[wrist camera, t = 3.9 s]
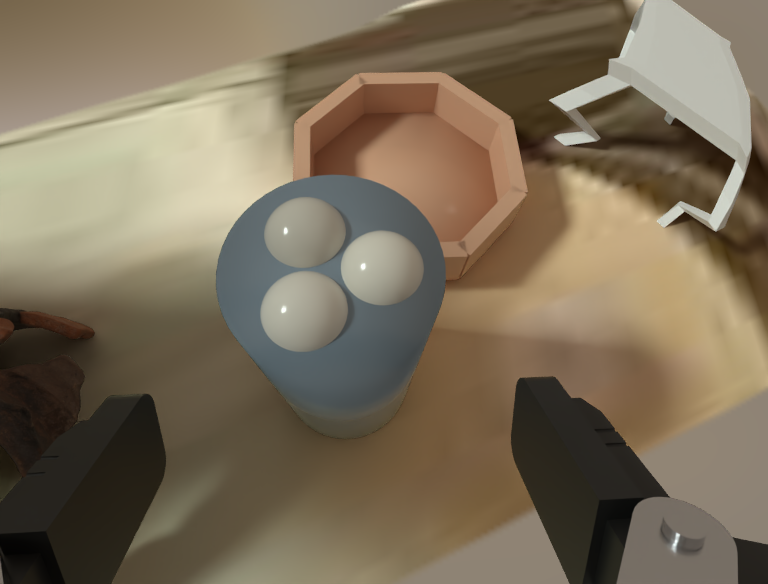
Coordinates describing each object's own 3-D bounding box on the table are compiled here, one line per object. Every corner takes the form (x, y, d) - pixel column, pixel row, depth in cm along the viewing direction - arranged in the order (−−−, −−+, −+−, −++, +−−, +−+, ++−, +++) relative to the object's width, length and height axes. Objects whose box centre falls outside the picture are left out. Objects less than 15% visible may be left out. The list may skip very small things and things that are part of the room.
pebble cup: (284, 442, 19) (195, 380, 9) (287, 320, 21) (217, 160, 11) (412, 435, 19) (464, 368, 9) (403, 315, 21) (438, 156, 11)
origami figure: (503, 96, 26) (532, 12, 22) (626, 53, 28) (677, -33, 23) (637, 278, 22) (708, 221, 18) (772, 214, 24) (867, 148, 19)
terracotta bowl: (299, 287, 21) (291, 262, 19) (301, 112, 25) (295, 73, 23) (522, 279, 22) (540, 254, 19) (490, 109, 26) (502, 71, 23)
